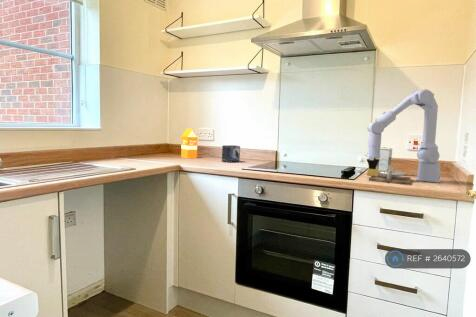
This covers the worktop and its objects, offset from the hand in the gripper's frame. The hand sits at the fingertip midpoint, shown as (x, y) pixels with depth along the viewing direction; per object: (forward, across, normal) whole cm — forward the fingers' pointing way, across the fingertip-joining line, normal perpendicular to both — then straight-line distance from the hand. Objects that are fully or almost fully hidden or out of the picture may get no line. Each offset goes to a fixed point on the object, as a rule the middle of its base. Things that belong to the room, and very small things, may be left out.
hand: (372, 173), depth 160 cm
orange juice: (+3, -8, -121) cm, 121 cm away
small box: (+3, -8, -87) cm, 87 cm away
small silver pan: (+1, +1, +6) cm, 6 cm away
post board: (+2, 0, +8) cm, 9 cm away
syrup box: (+2, -22, +3) cm, 22 cm away
